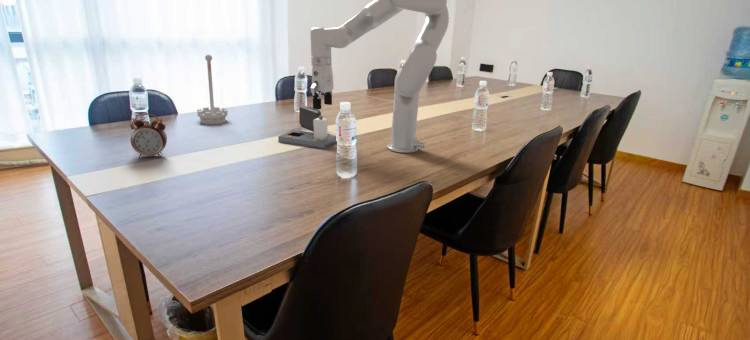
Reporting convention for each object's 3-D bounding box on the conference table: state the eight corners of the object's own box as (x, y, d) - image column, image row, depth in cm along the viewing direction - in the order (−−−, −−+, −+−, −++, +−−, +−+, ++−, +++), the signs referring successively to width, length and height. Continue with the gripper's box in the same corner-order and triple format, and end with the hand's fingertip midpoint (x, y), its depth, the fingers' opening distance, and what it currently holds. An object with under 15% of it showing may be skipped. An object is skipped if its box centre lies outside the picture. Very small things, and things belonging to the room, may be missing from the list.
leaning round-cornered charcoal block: (326, 132, 190) (326, 111, 187) (317, 133, 188) (317, 112, 184) (307, 124, 202) (307, 104, 199) (298, 125, 199) (298, 105, 196)
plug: (327, 143, 174) (327, 115, 170) (322, 145, 170) (323, 117, 166) (316, 141, 175) (316, 114, 171) (311, 143, 172) (312, 116, 168)
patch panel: (336, 141, 177) (336, 135, 176) (324, 149, 166) (324, 142, 165) (293, 135, 183) (293, 129, 182) (278, 142, 172) (278, 135, 171)
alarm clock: (132, 159, 144) (125, 115, 139) (135, 154, 148) (129, 112, 143) (167, 158, 147) (162, 115, 142) (170, 153, 151) (165, 111, 146)
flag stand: (196, 118, 202) (191, 52, 192) (226, 117, 207) (222, 53, 197) (199, 125, 191) (193, 55, 181) (229, 123, 196) (225, 56, 186)
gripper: (320, 64, 153) (321, 111, 159) (339, 60, 169) (340, 103, 174) (301, 63, 155) (303, 110, 161) (322, 59, 171) (323, 102, 176)
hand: (322, 106), depth 168 cm, fingers open, 9 cm apart
